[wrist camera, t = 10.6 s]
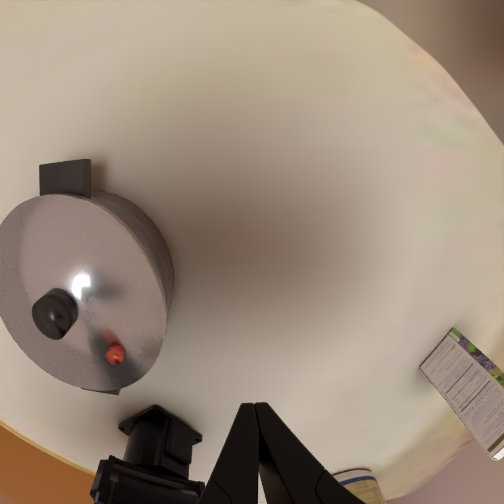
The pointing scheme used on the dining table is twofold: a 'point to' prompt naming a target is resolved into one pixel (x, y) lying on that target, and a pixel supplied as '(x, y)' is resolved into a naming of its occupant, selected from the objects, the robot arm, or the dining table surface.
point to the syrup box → (470, 389)
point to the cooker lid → (80, 292)
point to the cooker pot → (79, 183)
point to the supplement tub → (362, 485)
